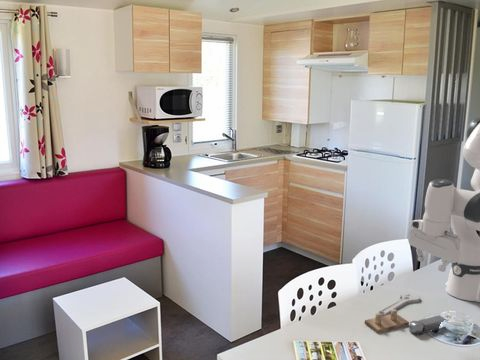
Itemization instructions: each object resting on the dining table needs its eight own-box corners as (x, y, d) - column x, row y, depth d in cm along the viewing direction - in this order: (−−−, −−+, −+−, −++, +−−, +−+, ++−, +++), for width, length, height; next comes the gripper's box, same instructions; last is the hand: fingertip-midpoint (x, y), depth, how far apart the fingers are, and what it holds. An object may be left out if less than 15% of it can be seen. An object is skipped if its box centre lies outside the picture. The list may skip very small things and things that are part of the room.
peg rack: (395, 316, 173) (396, 304, 172) (408, 325, 166) (409, 312, 165) (364, 323, 167) (365, 311, 166) (377, 332, 161) (378, 320, 160)
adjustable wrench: (382, 319, 171) (382, 314, 171) (368, 312, 177) (368, 307, 176) (422, 300, 186) (422, 296, 185) (408, 294, 191) (408, 290, 191)
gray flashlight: (436, 322, 169) (437, 314, 168) (446, 328, 165) (447, 320, 164) (406, 330, 163) (407, 322, 162) (415, 336, 159) (416, 328, 158)
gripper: (468, 235, 150) (462, 276, 153) (420, 218, 168) (416, 255, 171) (453, 237, 147) (448, 278, 150) (407, 220, 166) (403, 256, 168)
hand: (431, 265), depth 161 cm, fingers open, 8 cm apart
